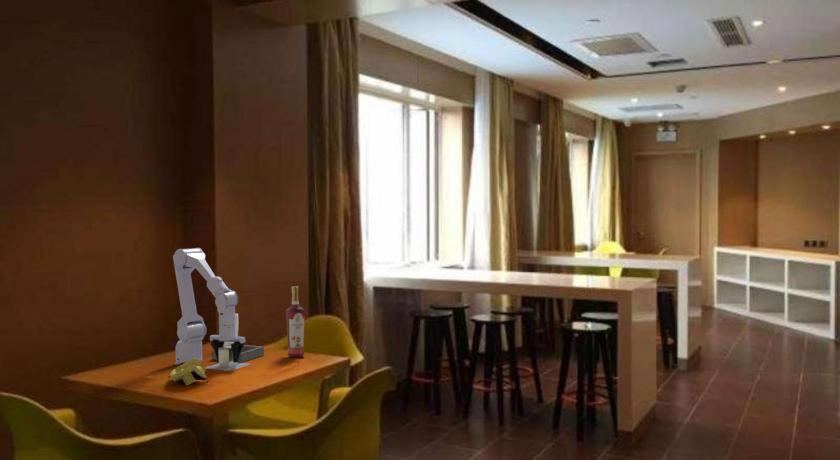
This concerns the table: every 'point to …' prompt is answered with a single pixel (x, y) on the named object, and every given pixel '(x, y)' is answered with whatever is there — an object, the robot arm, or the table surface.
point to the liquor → (295, 327)
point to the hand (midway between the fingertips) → (227, 361)
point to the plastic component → (188, 371)
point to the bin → (246, 353)
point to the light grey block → (226, 357)
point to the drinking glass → (235, 330)
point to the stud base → (226, 367)
